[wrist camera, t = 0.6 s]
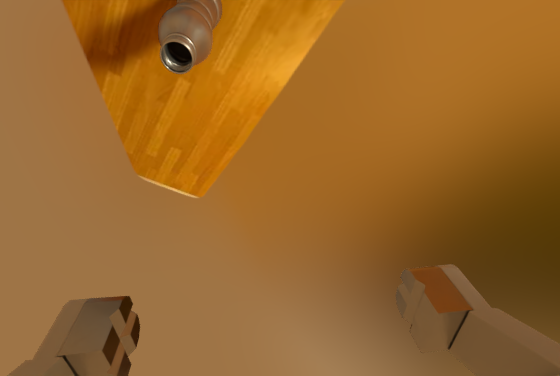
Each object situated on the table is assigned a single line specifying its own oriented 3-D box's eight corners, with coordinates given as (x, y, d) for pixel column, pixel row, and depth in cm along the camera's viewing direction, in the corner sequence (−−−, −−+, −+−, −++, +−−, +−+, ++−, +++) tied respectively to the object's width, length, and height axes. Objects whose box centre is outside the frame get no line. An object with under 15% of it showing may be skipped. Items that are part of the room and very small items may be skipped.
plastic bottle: (180, 19, 48) (147, 80, 34) (181, -31, 43) (143, 17, 29) (221, 29, 49) (204, 92, 36) (226, -18, 44) (209, 33, 31)
